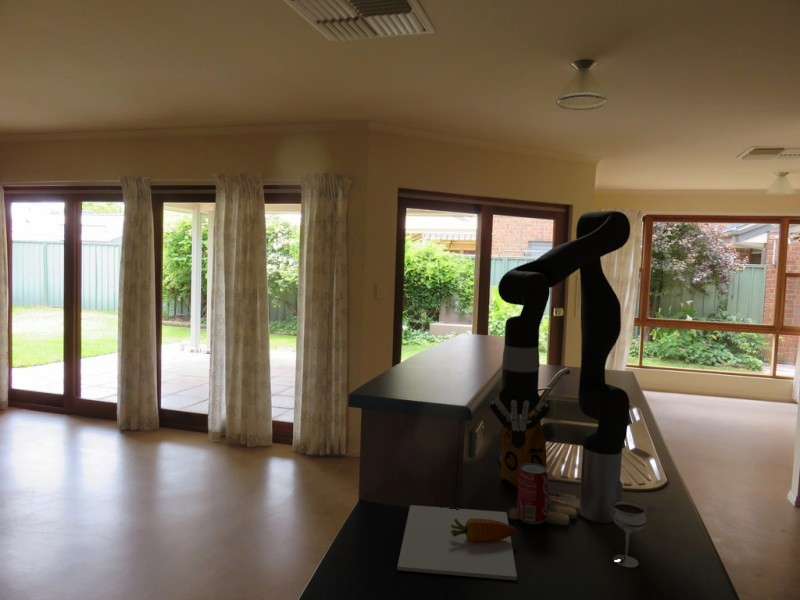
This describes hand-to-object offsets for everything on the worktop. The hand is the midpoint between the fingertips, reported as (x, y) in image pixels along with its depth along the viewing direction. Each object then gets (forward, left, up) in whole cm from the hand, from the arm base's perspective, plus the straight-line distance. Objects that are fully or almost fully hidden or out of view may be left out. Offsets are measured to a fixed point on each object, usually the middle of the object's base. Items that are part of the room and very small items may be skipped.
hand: (517, 446), depth 121 cm
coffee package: (-6, -38, -24) cm, 46 cm away
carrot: (-1, -5, -21) cm, 22 cm away
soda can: (-6, -17, -24) cm, 30 cm away
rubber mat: (+12, -4, -24) cm, 27 cm away
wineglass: (-24, -1, -24) cm, 34 cm away
